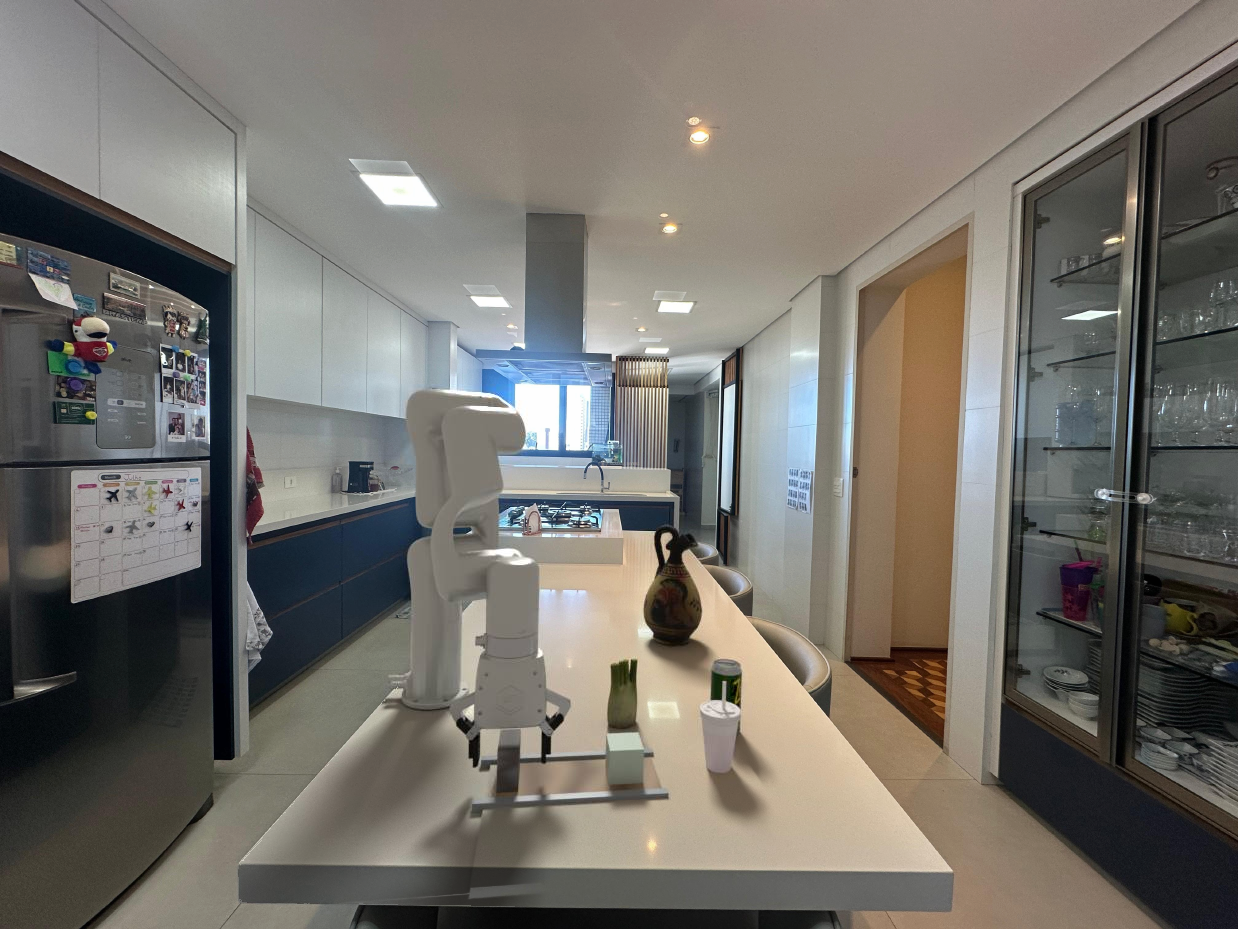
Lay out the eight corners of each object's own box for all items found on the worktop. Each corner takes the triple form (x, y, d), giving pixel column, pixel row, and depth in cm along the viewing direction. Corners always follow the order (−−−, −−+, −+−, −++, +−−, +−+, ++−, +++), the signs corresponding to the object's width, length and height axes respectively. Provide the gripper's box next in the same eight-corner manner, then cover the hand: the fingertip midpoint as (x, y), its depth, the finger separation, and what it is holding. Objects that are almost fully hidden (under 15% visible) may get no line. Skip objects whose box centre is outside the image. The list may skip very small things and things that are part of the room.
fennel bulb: (635, 719, 103) (637, 654, 103) (640, 732, 99) (642, 664, 98) (604, 721, 102) (605, 655, 102) (608, 734, 98) (610, 666, 97)
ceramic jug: (710, 637, 151) (714, 526, 150) (685, 654, 138) (689, 532, 137) (654, 625, 160) (658, 520, 159) (626, 640, 147) (629, 525, 146)
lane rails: (471, 812, 76) (472, 804, 76) (481, 763, 88) (481, 756, 88) (668, 801, 79) (668, 793, 79) (652, 755, 91) (652, 748, 91)
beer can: (707, 735, 98) (709, 667, 98) (711, 721, 103) (713, 656, 103) (738, 740, 97) (740, 671, 96) (741, 726, 102) (743, 660, 102)
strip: (491, 804, 77) (492, 756, 77) (497, 767, 86) (498, 725, 86) (662, 794, 81) (663, 749, 81) (650, 760, 90) (651, 719, 89)
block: (609, 785, 82) (610, 750, 82) (605, 765, 87) (606, 733, 86) (643, 783, 82) (644, 749, 82) (637, 764, 87) (638, 732, 87)
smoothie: (730, 787, 83) (733, 693, 83) (690, 773, 86) (693, 683, 86) (745, 767, 88) (748, 679, 88) (707, 754, 92) (709, 669, 92)
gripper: (446, 654, 77) (444, 779, 77) (573, 650, 79) (571, 771, 79) (454, 636, 84) (453, 750, 84) (570, 634, 87) (568, 745, 87)
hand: (510, 760), depth 82 cm, fingers open, 9 cm apart
